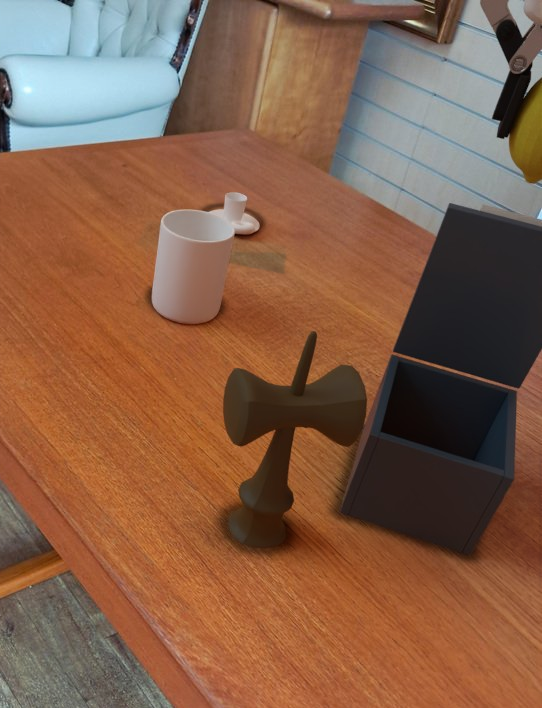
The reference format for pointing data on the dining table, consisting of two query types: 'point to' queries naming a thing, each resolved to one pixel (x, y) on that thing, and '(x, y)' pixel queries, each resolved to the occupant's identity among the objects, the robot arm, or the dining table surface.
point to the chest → (434, 455)
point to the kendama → (285, 435)
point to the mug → (191, 265)
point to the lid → (479, 296)
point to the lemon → (528, 135)
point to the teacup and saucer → (237, 214)
